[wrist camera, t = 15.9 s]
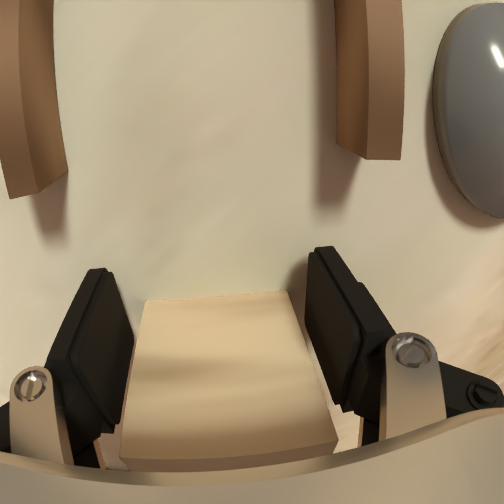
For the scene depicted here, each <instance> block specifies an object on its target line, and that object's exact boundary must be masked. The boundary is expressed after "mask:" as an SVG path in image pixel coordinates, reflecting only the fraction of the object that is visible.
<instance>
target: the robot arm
mask: <svg viewBox="0 0 504 504" xmlns="http://www.w3.org/2000/svg"><path fill="white" fill-rule="evenodd" d="M304 318H305V326H306V329H307V331H308V334H309V337H310V339H311V342H312V345H313V348H314V350H315V353H316V356H317V358H318V361H319V364H320V367H321V369H322V372H323V375H324V378H325V380H326V383H327V386H328V389H329V391H330V394H331V397H332V400H333V402H334V404H335V405H337V404H340V406H341V409H342V412H343V413H345V412H349V411H354V414H356V415H358V416H360V427H359V437H358V447H357V448H354V449H350V450H347V451H343V452H338V453H334V454H330V455H325V456H321V457H316V458H311V459H306V460H301V461H295V462H289V463H283V464H277V465H270V466H263V467H255V468H246V469H236V470H224V471H208V472H135V471H119V470H107V469H106V466H105V463H104V459H103V456H102V453H101V449H100V446H99V442H98V439H97V438H99V437H100V435H101V433H110V434H114V429H115V424H119V423H120V419H121V412H122V406H123V400H124V394H125V388H126V382H127V376H128V371H129V365H130V360H131V355H132V350H133V345H134V335H133V332H132V329H131V326H130V323H129V321H128V318H127V315H126V312H125V309H124V306H123V303H122V300H121V297H120V294H119V291H118V288H117V284H116V281H115V278H114V275H113V273H112V272H108V270H107V269H106V268H98V269H90V270H88V272H87V274H86V276H85V278H84V280H83V281H82V283H81V285H80V287H79V289H78V291H77V293H76V295H75V297H74V299H73V301H72V303H71V305H70V308H69V310H68V312H67V314H66V316H65V318H64V320H63V322H62V325H61V327H60V329H59V331H58V333H57V336H56V338H55V340H54V343H53V345H52V347H51V350H50V352H49V354H48V357H47V361H46V363H45V366H44V367H41V366H33V367H29V368H26V369H24V370H23V371H21V372H20V373H19V374H18V375H17V376H16V377H15V378H14V380H13V382H12V384H11V387H10V401H9V402H7V403H6V404H4V405H3V406H1V407H0V504H504V395H503V393H502V391H501V389H500V387H499V386H498V385H497V384H496V383H495V382H494V381H492V380H490V379H488V378H486V377H483V376H480V375H477V374H474V373H471V372H468V371H466V370H463V369H460V368H457V367H454V366H452V365H449V364H446V363H443V362H440V361H438V357H437V352H436V350H435V347H434V346H433V344H432V343H431V342H430V341H429V340H428V339H426V338H425V337H423V336H421V335H419V334H415V333H410V332H407V333H399V334H396V332H395V331H394V329H393V328H392V326H391V325H390V323H389V322H388V320H387V318H386V317H385V315H384V314H383V312H382V311H381V309H380V308H379V306H378V305H377V303H376V302H375V300H374V299H373V297H372V296H371V294H370V293H369V291H368V290H367V288H366V287H365V285H364V284H363V283H361V282H357V280H356V279H355V277H354V276H353V274H352V273H351V271H350V270H349V268H348V267H347V266H346V264H345V263H344V261H343V260H342V258H341V257H340V255H339V254H338V252H337V251H336V250H335V248H334V247H333V246H325V247H316V248H315V249H314V252H310V253H309V257H308V274H307V289H306V303H305V317H304Z"/></svg>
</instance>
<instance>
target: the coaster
mask: <svg viewBox="0 0 504 504" xmlns="http://www.w3.org/2000/svg"><path fill="white" fill-rule="evenodd" d="M433 112H434V123H435V129H436V135H437V141H438V144H439V148H440V152H441V156H442V159H443V161H444V164H445V167H446V170H447V172H448V174H449V176H450V178H451V180H452V182H453V183H454V185H455V186H456V188H457V189H458V191H459V192H460V193H461V194H462V195H463V197H464V198H465V199H467V200H468V201H469V202H470V203H471V204H473V205H474V206H476V207H477V208H479V209H481V210H482V211H484V212H485V213H487V214H489V215H491V216H493V217H496V218H504V3H485V4H477V5H473V6H470V7H468V8H466V9H464V10H463V11H462V12H460V13H459V14H458V15H457V16H456V17H455V18H454V19H453V20H452V22H451V23H450V25H449V26H448V28H447V30H446V32H445V34H444V36H443V39H442V41H441V44H440V47H439V51H438V54H437V58H436V64H435V71H434V81H433Z"/></svg>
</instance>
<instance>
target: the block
mask: <svg viewBox="0 0 504 504" xmlns="http://www.w3.org/2000/svg"><path fill="white" fill-rule="evenodd" d="M338 440H339V439H338V436H337V433H336V430H335V428H334V425H333V422H332V419H331V416H330V413H329V410H328V407H327V404H326V401H325V398H324V395H323V392H322V389H321V386H320V383H319V381H318V378H317V375H316V372H315V369H314V366H313V363H312V360H311V357H310V355H309V352H308V349H307V346H306V343H305V340H304V338H303V335H302V332H301V329H300V326H299V323H298V321H297V318H296V315H295V312H294V309H293V307H292V304H291V301H290V298H289V295H288V293H287V290H284V291H274V292H264V293H253V294H242V295H230V296H218V297H205V298H192V299H177V300H162V301H146V302H145V305H144V310H143V314H142V319H141V324H140V329H139V333H138V338H137V343H136V349H135V354H134V359H133V365H132V370H131V376H130V382H129V388H128V394H127V400H126V407H125V414H124V421H123V429H122V436H121V445H120V454H119V458H120V459H121V460H122V461H123V462H124V464H125V465H126V466H127V467H128V468H129V469H130V470H131V471H135V472H208V471H224V470H236V469H246V468H255V467H263V466H270V465H277V464H283V463H289V462H295V461H301V460H306V459H311V458H316V457H321V456H325V455H330V454H333V451H334V449H335V447H336V445H337V443H338Z"/></svg>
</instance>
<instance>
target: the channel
mask: <svg viewBox="0 0 504 504" xmlns="http://www.w3.org/2000/svg"><path fill="white" fill-rule="evenodd" d="M334 7H335V24H336V48H337V144H338V145H340V146H342V147H344V148H346V149H348V150H350V151H352V152H353V153H355V154H357V155H359V156H361V157H363V158H364V159H366V160H400V159H401V147H402V134H403V116H404V79H405V67H404V31H403V15H402V2H401V0H334ZM0 160H1V165H2V170H3V174H4V178H5V183H6V187H7V191H8V195H9V198H10V199H14V198H18V197H22V196H27V195H31V194H36V193H39V192H40V191H41V190H43V189H44V188H45V187H47V186H48V185H49V184H51V183H52V182H53V181H55V180H56V179H57V178H59V177H60V176H61V175H63V174H64V173H66V172H67V171H68V167H67V162H66V156H65V151H64V145H63V139H62V132H61V125H60V118H59V110H58V102H57V93H56V82H55V69H54V50H53V0H0Z"/></svg>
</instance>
